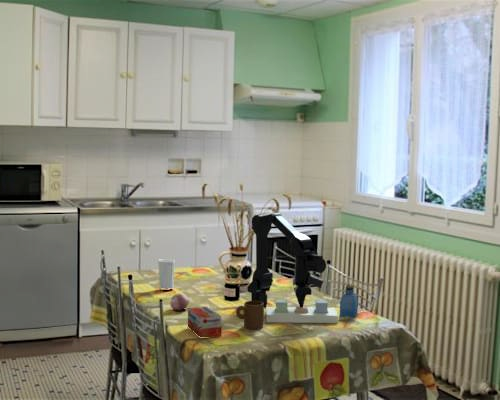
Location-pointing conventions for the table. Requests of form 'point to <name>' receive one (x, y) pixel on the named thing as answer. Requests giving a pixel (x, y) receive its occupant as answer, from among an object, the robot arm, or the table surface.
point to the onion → (179, 302)
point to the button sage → (281, 305)
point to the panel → (301, 316)
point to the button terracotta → (301, 309)
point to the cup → (166, 273)
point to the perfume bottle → (349, 303)
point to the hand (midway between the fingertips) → (301, 307)
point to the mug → (252, 314)
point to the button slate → (321, 306)
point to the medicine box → (204, 322)
